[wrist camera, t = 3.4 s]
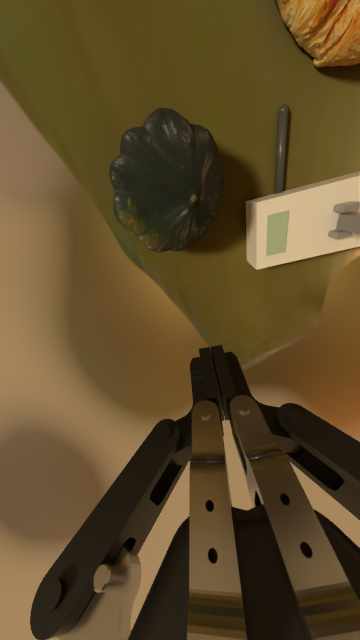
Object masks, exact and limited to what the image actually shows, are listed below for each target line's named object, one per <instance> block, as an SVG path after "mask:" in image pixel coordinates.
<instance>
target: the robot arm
mask: <svg viewBox="0 0 360 640" xmlns="http://www.w3.org/2000/svg"><path fill="white" fill-rule="evenodd" d="M199 353H200V357H197V358H193V359H192V361H191V363H190V372H191V383H192V394H193V406H192V409H191V411H190V412H189V413H188V414H187V415H186V416H185V417H182V418H180V419H178V420H177V421H174V420H171V419H164V420H161V421H160V422H159V423H157V424H156V426H155V427H154V428H153V430H152V431H151V433H150V434H149V435H148V436H147V438H146V439H145V441H144V442H143V443H142V445H141V446H140V447H139V449H138V450H137V451H136V453H135V454H134V456H133V457H132V458H131V460H130V461H129V462H128V464H127V465H126V467H125V468H124V469H123V471H122V472H121V473H120V475H119V476H118V477H117V479H116V480H115V481H114V483H113V484H112V485H111V487H110V488H109V490H108V491H107V492H106V494H105V495H104V496H103V498H102V499H101V500H100V502H99V503H98V504H97V506H96V507H95V509H94V510H93V511H92V513H91V514H90V515H89V517H88V518H87V520H86V521H85V522H84V523H83V525H82V526H81V528H80V529H79V530H78V532H77V533H76V534H75V536H74V537H73V538H72V540H71V541H70V543H69V544H68V545H67V547H66V548H65V549H64V551H63V552H62V554H61V555H60V556H59V558H58V559H57V560H56V562H55V563H54V564H53V566H52V567H51V568H50V570H49V571H48V573H47V574H46V575H45V577H44V578H43V580H42V582H41V584H40V586H39V588H38V590H37V593H36V595H35V598H34V601H33V604H32V609H31V617H30V625H31V630H32V633H33V635H34V637H35V638H36V639H39V640H46V639H49V638H53V637H57V638H59V639H60V640H360V548H359V547H358V546H357V545H356V544H355V543H353V541H352V540H351V539H350V538H348V537H347V536H346V535H345V534H344V533H343V532H342V531H341V530H340V529H339V528H338V527H337V526H336V525H335V524H334V523H333V522H331V521H330V520H329V519H328V518H326V517H325V516H324V515H322V514H321V513H319V512H318V511H316V510H314V509H313V508H312V506H311V504H310V502H309V500H308V498H307V496H306V494H305V492H304V490H303V488H302V486H301V484H300V482H299V480H298V478H297V476H296V474H295V472H294V470H293V468H292V466H291V464H290V462H291V463H292V464H293V465H295V466H296V467H297V468H298V469H299V470H301V471H302V472H303V473H304V474H306V475H307V476H308V477H309V478H310V479H312V480H313V481H314V482H315V483H316V484H317V485H319V486H320V487H321V488H322V489H323V490H325V491H326V492H327V493H328V494H329V495H331V496H332V497H333V498H334V499H335V500H336V501H338V502H339V503H340V504H341V505H342V506H343V507H345V508H346V509H347V510H348V511H349V512H351V513H352V514H353V515H354V516H355V517H357V518H358V519H359V520H360V442H359V441H357V440H355V439H354V438H352V437H351V436H349V435H347V434H346V433H344V432H342V431H341V430H339V429H338V428H336V427H334V426H333V425H331V424H329V423H328V422H326V421H324V420H323V419H321V418H320V417H318V416H316V415H314V414H313V413H311V412H310V411H308V410H307V409H305V408H303V407H301V406H300V405H297V404H294V403H287V404H283V405H282V406H281V407H280V408H279V407H273V406H267V405H264V404H262V403H259V402H258V401H257V400H255V399H254V398H253V396H252V395H251V393H250V390H249V388H248V385H247V382H246V380H245V377H244V375H243V372H242V369H241V367H240V364H239V361H238V359H237V357H236V356H235V355H234V354H233V353H232V352H227V353H224V351H223V348H222V345H219V346H213V347H211V351H210V347H207V348H202V349H199ZM211 354H212V355H211ZM223 411H224V414H223ZM224 416H225V420H230V424H231V428H232V435H233V438H234V442H235V445H236V448H237V451H238V454H239V458H240V461H241V464H242V467H243V470H244V474H245V477H246V481H247V486H248V489H249V493H250V496H251V500H252V503H253V506H254V508H252V509H251V510H242V509H238V508H234V507H232V501H231V494H230V486H229V480H228V472H227V464H226V457H225V449H224V441H223V435H224V433H223V426H222V421H223V420H224ZM190 460H191V462H190V516H189V517H188V518H187V519H186V520H185V521H184V522H183V523H182V524H181V526H180V527H179V528H178V530H177V532H176V533H175V535H174V537H173V539H172V542H171V544H170V546H169V548H168V550H167V553H166V555H165V557H164V559H163V562H162V564H161V566H160V568H159V571H158V573H157V575H156V577H155V580H154V582H153V584H152V586H151V588H150V591H149V593H148V595H147V597H146V600H145V602H144V604H143V606H142V609H141V611H140V613H139V615H138V618H137V620H136V622H135V624H134V627H133V629H132V631H131V632H130V619H131V611H132V606H133V603H134V600H135V597H136V595H137V592H138V589H139V585H140V580H141V564H140V560H139V557H138V555H137V554H138V553H139V551H140V549H141V547H142V545H143V543H144V542H145V540H146V538H147V536H148V534H149V533H150V531H151V529H152V527H153V525H154V523H155V522H156V520H157V518H158V516H159V514H160V513H161V511H162V509H163V507H164V505H165V503H166V501H167V500H168V498H169V496H170V494H171V492H172V491H173V489H174V487H175V485H176V483H177V482H178V480H179V478H180V476H181V474H182V472H183V470H184V469H185V467H186V465H187V463H188V461H190ZM289 461H290V462H289Z"/></svg>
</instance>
